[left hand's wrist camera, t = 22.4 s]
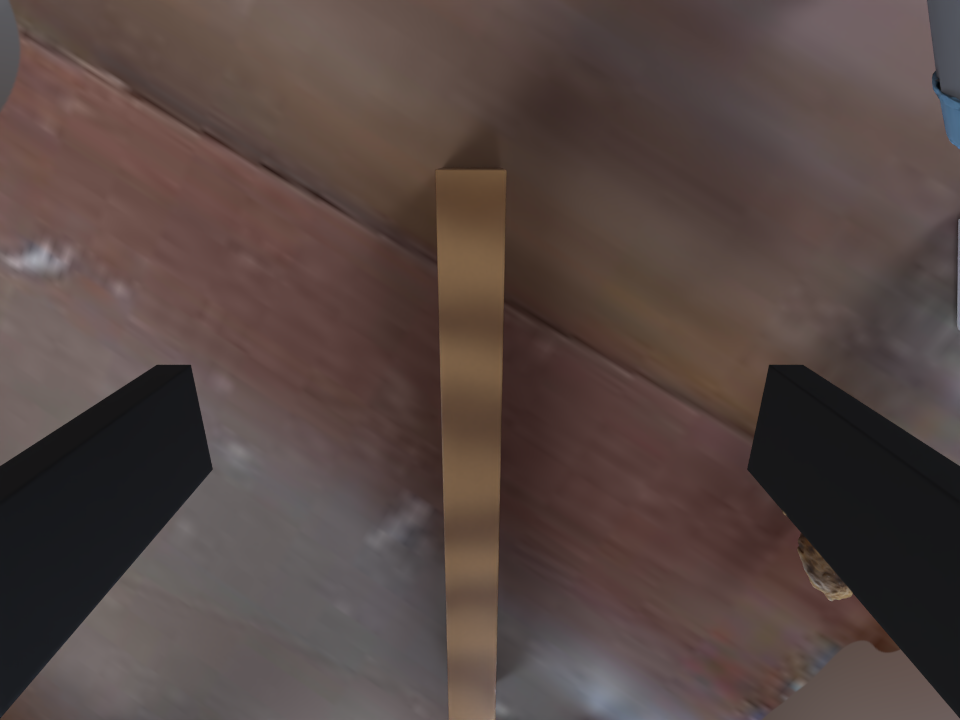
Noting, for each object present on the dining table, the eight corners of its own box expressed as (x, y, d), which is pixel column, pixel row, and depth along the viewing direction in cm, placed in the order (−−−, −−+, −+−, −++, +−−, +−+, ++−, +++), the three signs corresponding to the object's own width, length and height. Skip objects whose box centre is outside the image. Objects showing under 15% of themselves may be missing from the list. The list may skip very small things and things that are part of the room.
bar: (441, 167, 44) (435, 169, 37) (501, 167, 44) (506, 169, 37) (452, 685, 66) (449, 747, 59) (492, 685, 66) (494, 747, 59)
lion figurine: (802, 549, 58) (857, 615, 50) (760, 536, 58) (809, 600, 49) (883, 439, 54) (959, 491, 45) (838, 422, 53) (907, 473, 44)
